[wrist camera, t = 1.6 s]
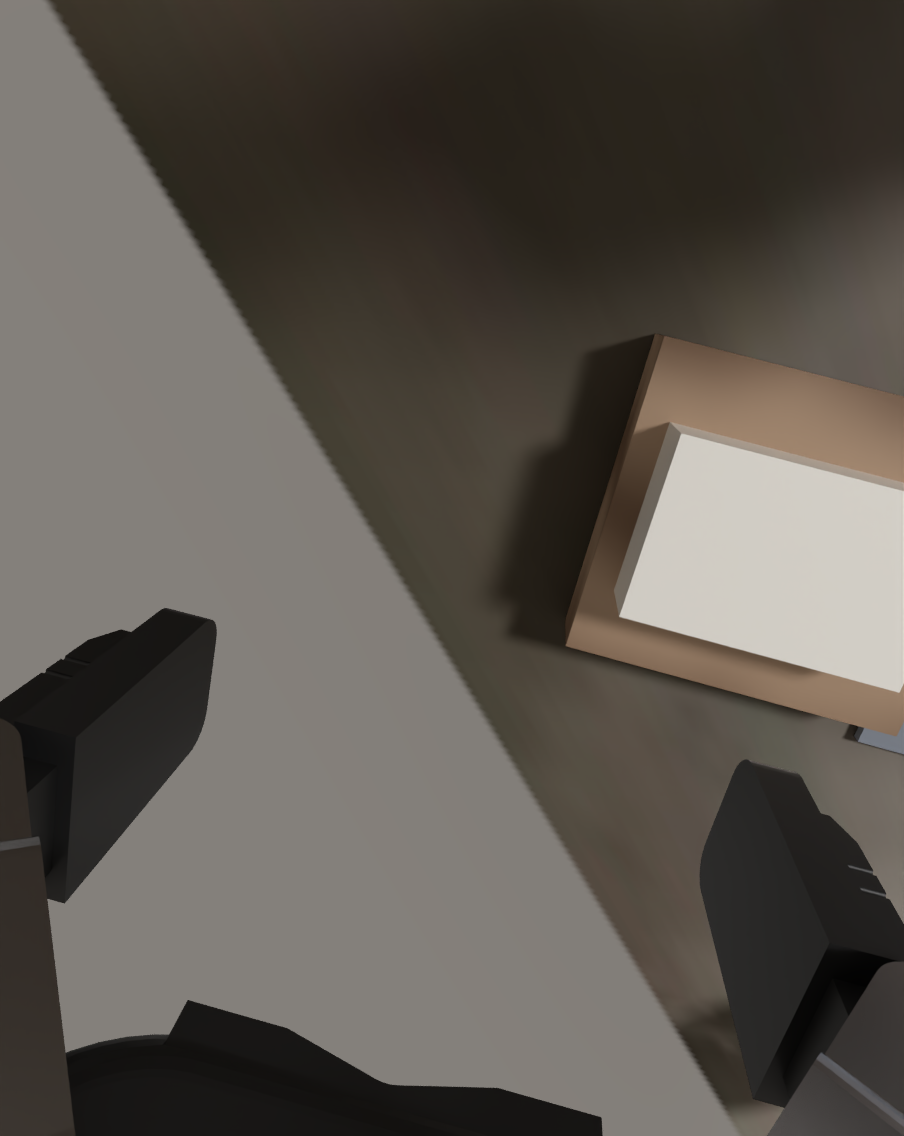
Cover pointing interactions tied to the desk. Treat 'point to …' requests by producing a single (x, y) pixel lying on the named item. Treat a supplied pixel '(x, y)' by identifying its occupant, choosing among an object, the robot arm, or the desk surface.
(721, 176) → the desk surface
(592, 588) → the plate
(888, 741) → the mat
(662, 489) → the white box
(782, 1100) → the robot arm
